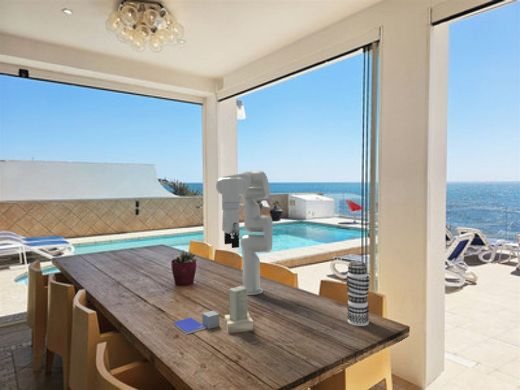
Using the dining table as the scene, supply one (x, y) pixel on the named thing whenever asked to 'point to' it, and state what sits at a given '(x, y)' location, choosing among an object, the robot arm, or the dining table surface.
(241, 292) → the skincare box
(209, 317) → the grey cube
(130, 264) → the dining table surface
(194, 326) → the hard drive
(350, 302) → the decorative candle
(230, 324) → the pedestal
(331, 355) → the dining table surface
